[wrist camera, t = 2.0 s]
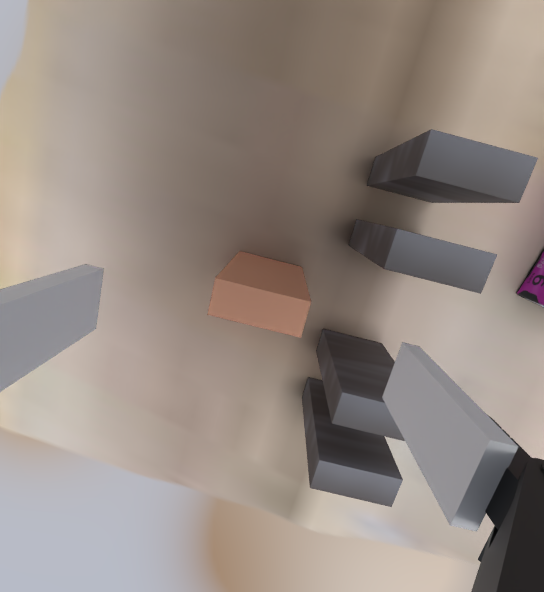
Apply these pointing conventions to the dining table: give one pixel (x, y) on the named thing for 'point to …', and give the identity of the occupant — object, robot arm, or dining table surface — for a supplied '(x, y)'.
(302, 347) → the dining table surface
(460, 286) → the domino
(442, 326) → the dining table surface
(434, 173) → the domino
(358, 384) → the domino
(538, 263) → the candy bar box
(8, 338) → the robot arm
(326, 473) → the domino
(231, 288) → the domino
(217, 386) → the dining table surface
